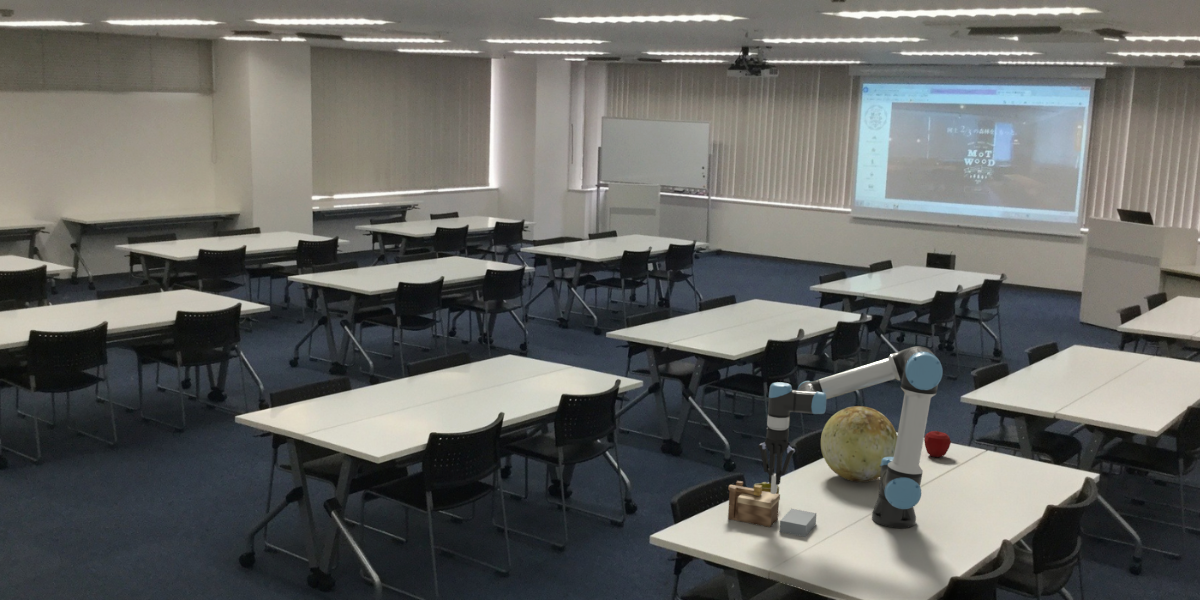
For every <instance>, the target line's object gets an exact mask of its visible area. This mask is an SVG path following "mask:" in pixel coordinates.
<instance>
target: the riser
mask: <svg viewBox="0 0 1200 600" xmlns="http://www.w3.org/2000/svg"><path fill="white" fill-rule="evenodd" d="M816 523H817V512H811V511H807V510H801V509H798V508H797V509H795V508H790V509H789V511H788V512H787V513H786V514H784V516H783V517H782V518H781V519H780V520H779V532H780V533H784V534H789V535H794V536H799V537H804V538H806V537H807V535H808V534H809V533H810V532H811V531H812V529H813V528H814V527H815V526H816V525H817V524H816Z"/></svg>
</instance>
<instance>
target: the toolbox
mask: <svg viewBox="0 0 1200 600" xmlns="http://www.w3.org/2000/svg"><path fill="white" fill-rule="evenodd" d="M735 485H736V486H742V487H744V481H741V480H736V482H735ZM728 491H729V493H728V494H729V496H728V513H727V514H728V515H727V519H728V520H732V521H737V522H741V523H746V524H751V525H756V524H757V525H758V526H761V525H763V526H762V527H766V526H768V528H771V527H773V525H774V524H775V523H776V522H777V521H778V520H779V507H780V506H779V503H780V500H779V501H778V502H777V503H776V504H775V505H774V506H773V507H772V508H771V509H769V508H764V507H758V506H753V505H748V504H742V503H738V497H739V496H740V495H741V494H742V492H737V487H733V486H731V487H730V490H728Z"/></svg>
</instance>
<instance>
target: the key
mask: <svg viewBox="0 0 1200 600" xmlns="http://www.w3.org/2000/svg"><path fill="white" fill-rule="evenodd" d="M731 486H733V487H737V492H742V493H747V494H753V495H757V496H760V495H761V494H762V485H756V486H755V487H754V486H753V487H754V489H753V487H746V486H743V487H742V486H736V484H729V485H728V491H730V487H731Z"/></svg>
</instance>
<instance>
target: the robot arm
mask: <svg viewBox="0 0 1200 600" xmlns="http://www.w3.org/2000/svg"><path fill="white" fill-rule="evenodd" d="M943 370H944V369H943V366H942V364H941V361H940V360H939V358H938V357H937V356H936V355H935V354H934V352H933V351H932V350H931V349H929V348H927V347H925V346H918V345H917V346H912V347H911V346H910V347H908V348H905V349H902V350H900V351H896V352H894V353H890V355H889V356H888V357H887V358H883V359H881V360H878V361H874V362H871V363H868V364H865V365H861V366H858V367H855V368H851V369H847V370H845V371H842V372H839V373H836V374H832V375H829V376H826V377H823V378H820V379H817V380H813V381H810V380H805V381H803V382H801V383H800V384H799V385H798V387H797V389H793V388H792V385H791V384H790V383H787V382H781V381H780V382H778V381H777V382H772V383H771V384H770V386H769V389H768V390H769V392H768V405H767V406H768V407H767V420H766V421H767V422H766V423H767V424H766V426H767V427H766V436H765V437H766V438H765V440H764V442H761V443H760V444H758V446H757V448H758V449H759V451H760V455H761V462H762V467H763V472H765V473H767V474H768V483H771V494H776V493H777V485H778V486H779V485H780V484H781V477H782V476H785V475H786V474H787V472H788V469H789V466H790V462H791V459H792V456H793V454H794V453H795V452H796V449H795V448H792V446H791V445H790V443H789V433H790V431H789V427H790V420H791V419H790V417H791V416H790V414H791V413H802V414H811V415H812V414H813V415H823V414H825V412H826V410H827V409H826V408H827V400H828V399H832V398H836V397H839V396H843V395H846V394H848V393H853V392H855V391H859V390H863V389H865V388H869V387H872V386H875V385H878V384H879V385H880V384H882V383H886V382H889V381H892V380H897V381H901V383H900V384H901V385H900V388H901V390H902V391H903V392H904V395H903V400H902V407H901V412H900V418H899V423H898V429H897V441H896V447H895V453H894V457H884V458H883V459H882V460H881V465H880V466H881V471H880V477H879V485H878V487H879V488H878V498H877V500H876V502H875V505H874V507H873V508H872V509H873V510H872V514H871V519H872V521H873V522H874V523H877V524H878V525H881V526H884V527H889V528H894V529H906V528H907V529H909V528H912V527H914V526H916V524H917V516H916V513H915V506H916V505H918V503H919V502H920V500H921V497H922V488H921V484H922V478H923V472H924V471H923V469H922V468H921V466H920V463H921V456H922V450H923V444H924V438H925V435H926V433H925V432H926V428H927V423H928V416H929V410H930V405H931V400H932V397H934V396H936V395H937V392H938V388H939V387H938V385H939V383H940V382H941V380H942V378H943V372H944V371H943ZM767 449H768V451H769V460H768V455H767V454H768V453H767ZM785 451H786V453H787V455H786V457H785V460H784V462H783V455H784V452H785ZM775 463H776V469H775ZM783 463H784V464H783Z"/></svg>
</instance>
